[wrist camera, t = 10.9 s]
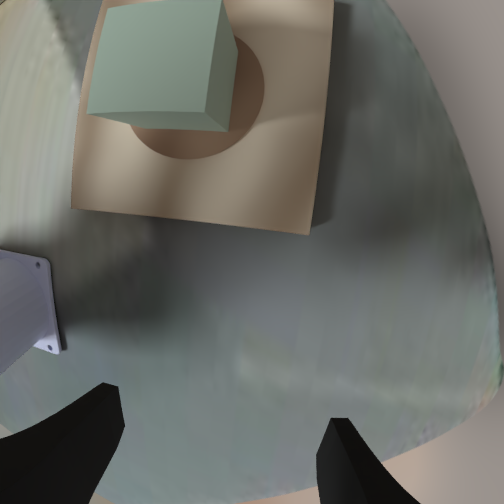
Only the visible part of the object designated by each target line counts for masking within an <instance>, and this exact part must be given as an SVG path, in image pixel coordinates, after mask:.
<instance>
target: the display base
mask: <svg viewBox="0 0 504 504" xmlns="http://www.w3.org/2000/svg"><path fill="white" fill-rule="evenodd" d="M153 1H162V0H103V2H102V5H101V9H100V12H99V15H98V19H97V22H96V26H95V30H94V34H93V38H92V42H91V46H90V50H89V55H88V59H87V64H86V69H85V74H84V79H83V85H82V91H81V97H80V103H79V110H78V117H77V126H76V134H75V144H74V156H73V170H72V191H71V209H82V210H93V211H104V212H114V213H124V214H134V215H143V216H153V217H162V218H171V219H180V220H189V221H198V222H207V223H215V224H224V225H232V226H240V227H248V228H256V229H264V230H272V231H280V232H288V233H295V234H303V235H309V233H310V227H311V220H312V213H313V206H314V199H315V192H316V185H317V178H318V170H319V162H320V154H321V146H322V137H323V129H324V120H325V110H326V100H327V90H328V79H329V68H330V56H331V42H332V27H333V10H334V0H223V2H224V6H225V9H226V12H227V15H228V19H229V22H230V25H231V29H232V32H233V36H234V39H235V42H236V46H237V49H238V57H237V65H236V72H235V80H234V88H233V96H232V104H231V113H230V121H229V130H228V132H218V131H203V130H182V129H145V128H141V127H137V126H133V125H130V124H126V123H122V122H118V121H114V120H110V119H106V118H102V117H98V116H93V115H89V114H86V113H87V106H88V99H89V92H90V86H91V80H92V75H93V69H94V64H95V59H96V54H97V50H98V45H99V41H100V37H101V32H102V28H103V25H104V21H105V17H106V13H107V10H108V8H112V7H117V6H123V5H130V4H137V3H144V2H153Z"/></svg>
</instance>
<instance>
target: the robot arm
mask: <svg viewBox="0 0 504 504" xmlns="http://www.w3.org/2000/svg"><path fill="white" fill-rule="evenodd" d="M38 262H39V264H40V266H39V264H38ZM32 346H35V347H37V348H40V349H43V350H45V351H48V352H51V353H54V354H59V353H60V352H61V351H62V349H61V343H60V338H59V332H58V326H57V320H56V313H55V306H54V298H53V290H52V280H51V270H50V263H49V261H48V260H47V259H45V258H41V257H36V256H30V255H25V254H21V253H16V252H11V251H6V250H1V249H0V375H1V374H2V373H3V372H4V371H5V370H6V369H7V368H9V367H10V366H11V365H12V364H13V363H14V362H15V361H16V360H17V359H19V358H20V357H21V356H22V355H23V354H24V353H25V352H26V351H28V350H29V349H30V348H31V347H32ZM124 427H125V423H124V418H123V413H122V407H121V401H120V395H119V389H118V386H114V385H110V384H107V383H101V384H100V385H98V386H96V387H95V388H93V389H92V390H91V391H89V392H88V393H86V394H85V395H83V396H82V397H80V398H79V399H77V400H76V401H74V402H73V403H71V404H70V405H68V406H66V407H65V408H63V409H62V410H60V411H59V412H57V413H55V414H54V415H52V416H50V417H48V418H47V419H45V420H43V421H41V422H39V423H38V424H36V425H34V426H32V427H29V428H27V429H25V430H23V431H20V432H18V433H16V434H13V435H11V436H8V437H5V438H1V439H0V504H89V502H90V499H91V497H92V495H93V493H94V491H95V489H96V487H97V485H98V483H99V481H100V479H101V478H102V476H103V474H104V472H105V470H106V468H107V466H108V464H109V463H110V461H111V459H112V457H113V455H114V453H115V451H116V449H117V447H118V444H119V441H120V439H121V436H122V433H123V430H124ZM316 468H317V484H318V490H319V497H320V503H321V504H420V503H419V502H418V501H417V500H416V499H415V498H413V497H412V496H411V495H410V494H409V493H408V492H407V491H406V490H405V489H403V487H402V486H401V485H400V484H399V483H398V482H397V481H396V480H395V479H394V478H393V477H392V476H391V474H390V473H389V472H388V471H387V470H386V469H385V467H384V466H383V465H382V464H381V462H380V461H379V460H378V459H377V457H376V456H375V455H374V454H373V452H372V451H371V450H370V448H369V447H368V445H367V444H366V443H365V441H364V440H363V438H362V437H361V436H360V434H359V433H358V431H357V430H356V428H355V427H354V425H353V424H352V423H351V421H350V420H349V419H348V418H331V419H330V421H329V424H328V427H327V429H326V432H325V434H324V437H323V439H322V442H321V444H320V447H319V449H318V452H317V454H316Z"/></svg>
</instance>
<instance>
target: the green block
mask: <svg viewBox="0 0 504 504" xmlns="http://www.w3.org/2000/svg"><path fill="white" fill-rule="evenodd" d="M237 57H238V49H237V46H236V42H235V39H234V36H233V32H232V29H231V25H230V22H229V19H228V15H227V12H226V9H225V6H224V2H223V0H162V1H153V2H144V3H137V4H130V5H123V6H117V7H112V8H108V10H107V13H106V17H105V21H104V25H103V28H102V32H101V37H100V41H99V45H98V50H97V54H96V59H95V64H94V69H93V75H92V80H91V86H90V92H89V99H88V106H87V113H86V114H89V115H93V116H98V117H102V118H106V119H110V120H114V121H118V122H122V123H126V124H130V125H133V126H137V127H141V128H145V129H182V130H203V131H218V132H228V130H229V121H230V113H231V104H232V96H233V88H234V80H235V72H236V65H237Z"/></svg>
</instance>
